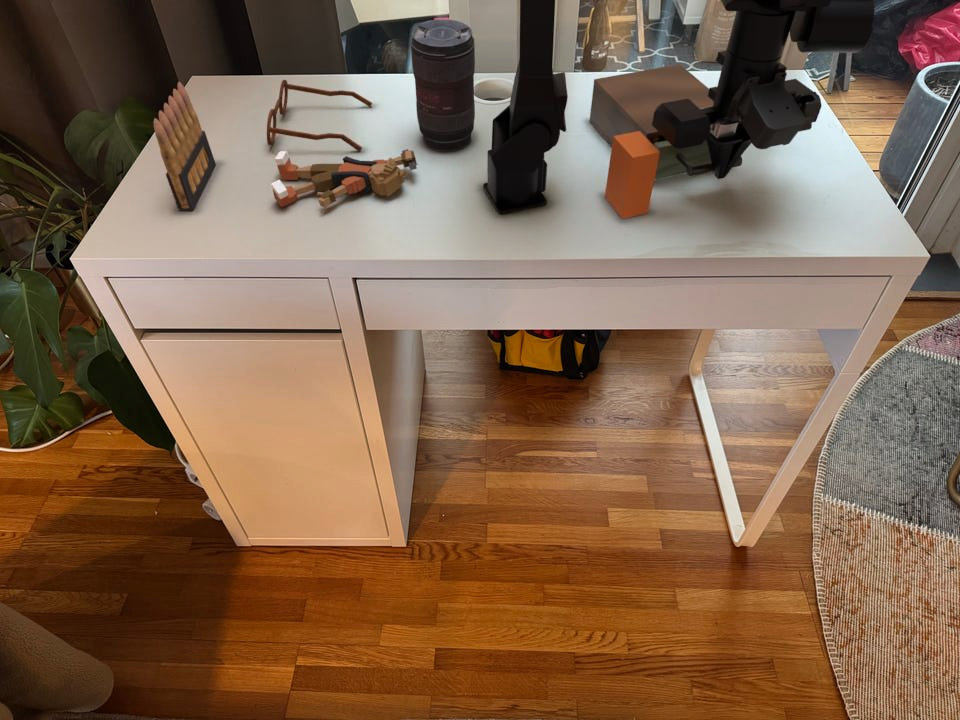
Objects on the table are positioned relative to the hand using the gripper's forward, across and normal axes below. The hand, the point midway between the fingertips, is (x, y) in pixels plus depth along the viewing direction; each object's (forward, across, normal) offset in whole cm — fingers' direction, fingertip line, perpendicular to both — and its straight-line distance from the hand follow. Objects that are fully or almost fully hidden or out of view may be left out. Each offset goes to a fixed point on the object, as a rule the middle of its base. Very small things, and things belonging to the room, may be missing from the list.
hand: (719, 177), depth 87 cm
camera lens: (+3, -28, +25) cm, 37 cm away
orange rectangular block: (+3, -11, +2) cm, 12 cm away
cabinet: (+3, 0, +15) cm, 15 cm away
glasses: (+3, -44, +34) cm, 55 cm away
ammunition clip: (+4, -62, +25) cm, 66 cm away
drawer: (+2, 0, +10) cm, 10 cm away
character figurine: (+4, -44, +18) cm, 47 cm away
